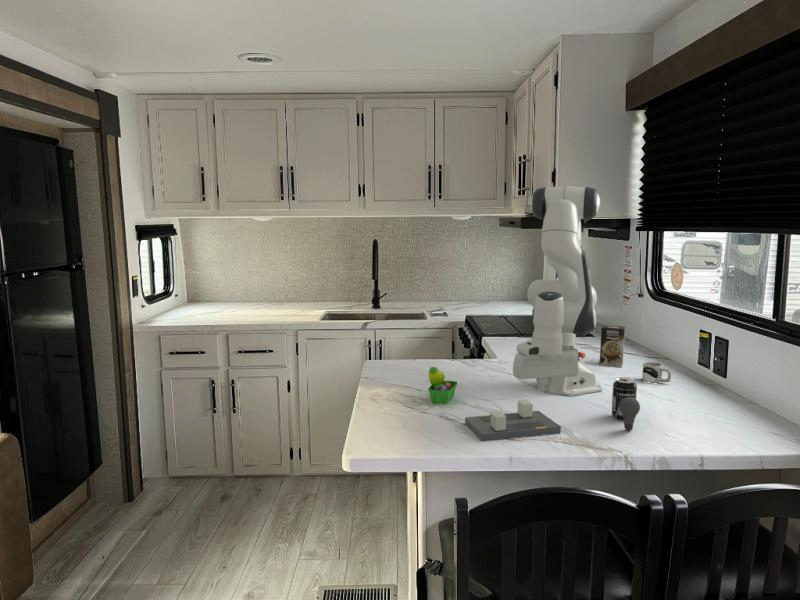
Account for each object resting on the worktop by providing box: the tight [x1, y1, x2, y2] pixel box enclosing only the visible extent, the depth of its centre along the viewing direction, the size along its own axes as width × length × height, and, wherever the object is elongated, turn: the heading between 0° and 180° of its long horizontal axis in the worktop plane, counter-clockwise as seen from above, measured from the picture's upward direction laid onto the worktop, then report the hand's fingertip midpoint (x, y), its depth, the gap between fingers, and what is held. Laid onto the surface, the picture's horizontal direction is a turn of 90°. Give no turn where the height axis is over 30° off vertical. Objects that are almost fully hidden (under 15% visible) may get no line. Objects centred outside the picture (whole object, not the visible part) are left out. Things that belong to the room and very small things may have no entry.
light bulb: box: [619, 397, 641, 432], centre depth 171 cm, size 6×6×10 cm
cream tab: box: [516, 399, 534, 418], centre depth 179 cm, size 3×4×4 cm
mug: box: [642, 361, 672, 383], centre depth 219 cm, size 10×7×7 cm
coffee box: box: [598, 324, 626, 368], centre depth 243 cm, size 9×6×16 cm
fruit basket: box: [427, 366, 458, 405], centre depth 201 cm, size 11×9×11 cm
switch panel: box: [464, 410, 562, 442], centre depth 174 cm, size 24×14×2 cm, turn 103°
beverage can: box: [611, 376, 638, 421], centre depth 182 cm, size 7×7×12 cm
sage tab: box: [490, 411, 506, 431], centre depth 169 cm, size 3×4×4 cm
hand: (544, 391), depth 179 cm, fingers closed
